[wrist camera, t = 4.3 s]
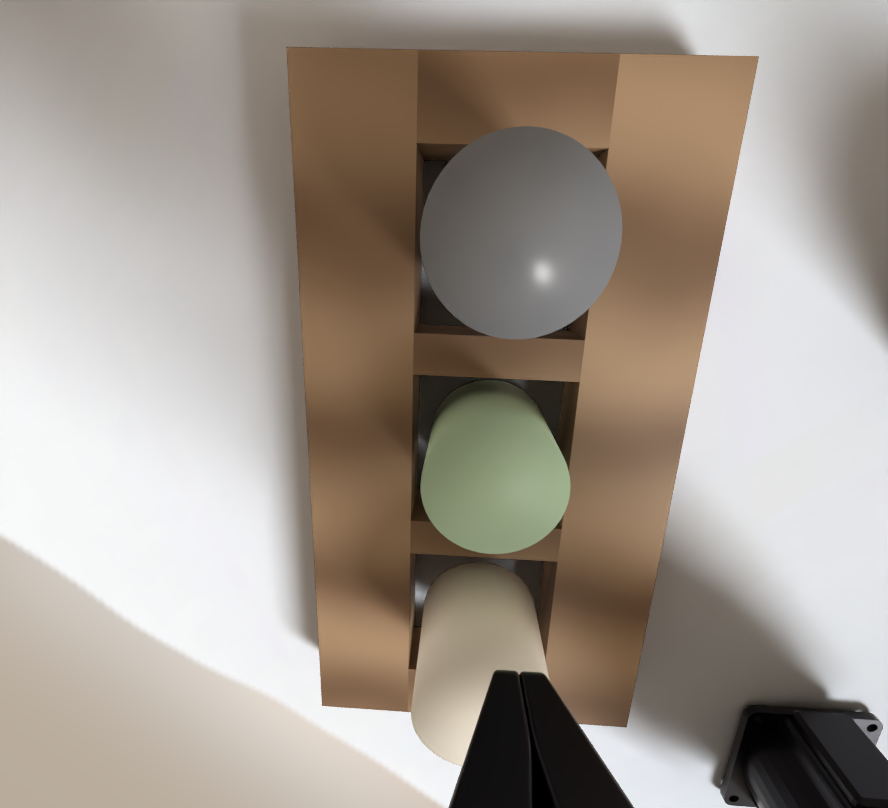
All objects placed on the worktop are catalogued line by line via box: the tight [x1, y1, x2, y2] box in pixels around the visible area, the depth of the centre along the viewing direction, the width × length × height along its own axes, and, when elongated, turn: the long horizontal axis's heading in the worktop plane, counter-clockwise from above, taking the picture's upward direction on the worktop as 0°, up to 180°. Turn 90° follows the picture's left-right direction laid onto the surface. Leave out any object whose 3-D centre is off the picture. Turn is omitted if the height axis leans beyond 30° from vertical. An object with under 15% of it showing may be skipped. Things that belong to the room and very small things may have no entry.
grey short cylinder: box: [420, 126, 622, 339], centre depth 13 cm, size 5×5×5 cm
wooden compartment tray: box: [287, 47, 759, 727], centre depth 19 cm, size 26×14×2 cm, turn 178°
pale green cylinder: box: [420, 380, 571, 554], centre depth 17 cm, size 5×5×5 cm
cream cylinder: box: [411, 563, 550, 766], centre depth 18 cm, size 5×5×5 cm
